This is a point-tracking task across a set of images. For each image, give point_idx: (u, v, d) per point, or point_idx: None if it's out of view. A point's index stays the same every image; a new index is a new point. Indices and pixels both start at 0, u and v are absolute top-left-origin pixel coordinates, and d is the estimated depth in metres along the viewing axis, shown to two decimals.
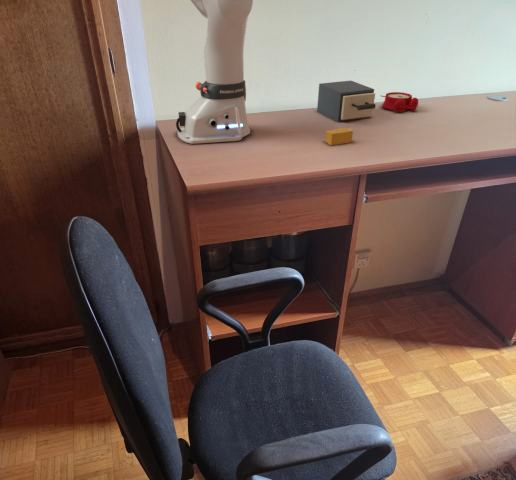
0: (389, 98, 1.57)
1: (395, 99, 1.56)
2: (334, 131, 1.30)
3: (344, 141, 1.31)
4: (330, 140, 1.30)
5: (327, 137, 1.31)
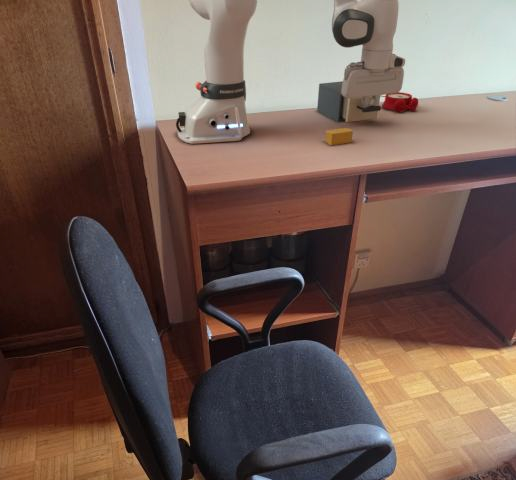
0: (389, 98, 1.57)
1: (395, 99, 1.56)
2: (334, 131, 1.30)
3: (344, 141, 1.31)
4: (330, 140, 1.30)
5: (327, 137, 1.31)
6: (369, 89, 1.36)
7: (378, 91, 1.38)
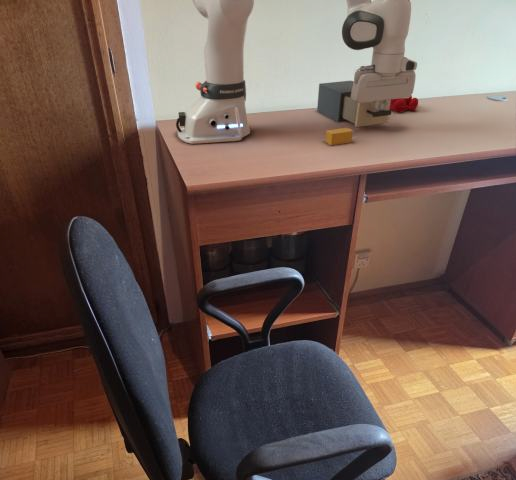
0: None
1: (395, 99, 1.56)
2: (334, 131, 1.30)
3: (344, 141, 1.31)
4: (330, 140, 1.30)
5: (327, 137, 1.31)
6: (380, 93, 1.32)
7: (389, 95, 1.34)
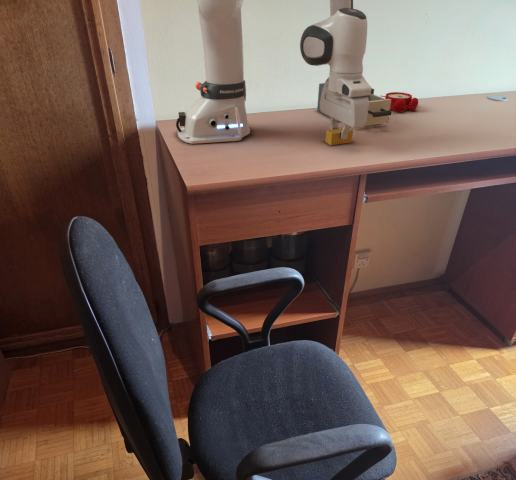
0: (389, 98, 1.57)
1: (395, 99, 1.56)
2: (334, 131, 1.30)
3: (344, 141, 1.31)
4: (330, 140, 1.30)
5: (327, 137, 1.31)
6: (332, 110, 1.28)
7: (338, 116, 1.26)
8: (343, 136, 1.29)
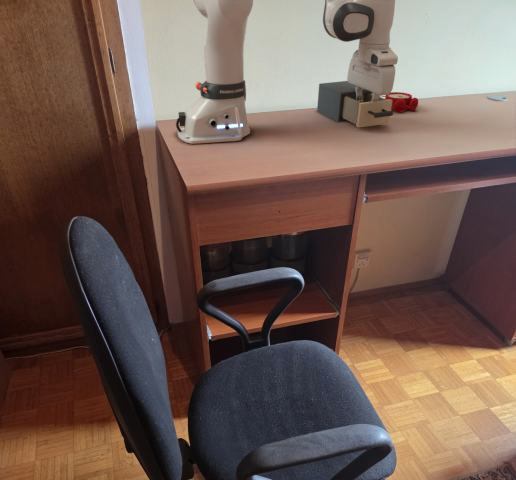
0: (389, 98, 1.57)
1: (395, 99, 1.56)
2: None
3: None
4: None
5: None
6: (360, 80, 1.40)
7: (365, 85, 1.38)
8: None
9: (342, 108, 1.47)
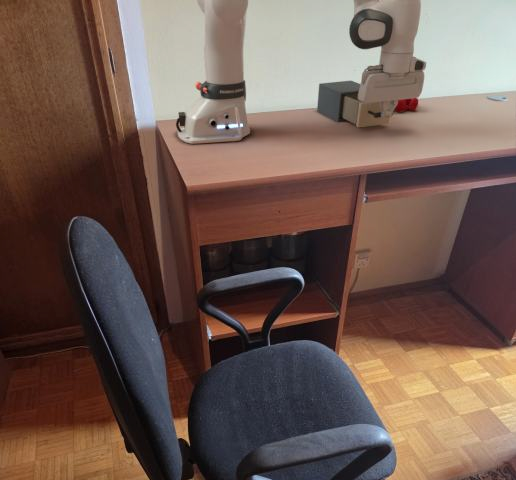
0: None
1: None
2: None
3: None
4: None
5: None
6: (387, 94, 1.29)
7: (397, 96, 1.31)
8: None
9: (342, 108, 1.47)
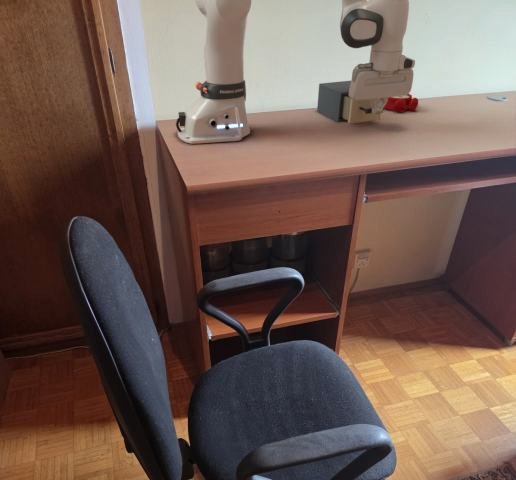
0: (389, 98, 1.57)
1: (395, 99, 1.56)
2: None
3: None
4: None
5: None
6: (377, 91, 1.33)
7: (387, 93, 1.34)
8: None
9: None
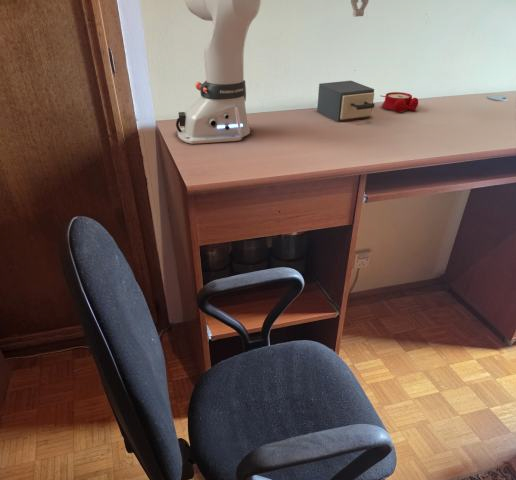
0: (389, 98, 1.57)
1: (395, 99, 1.56)
2: None
3: None
4: None
5: None
6: None
7: None
8: None
9: None
